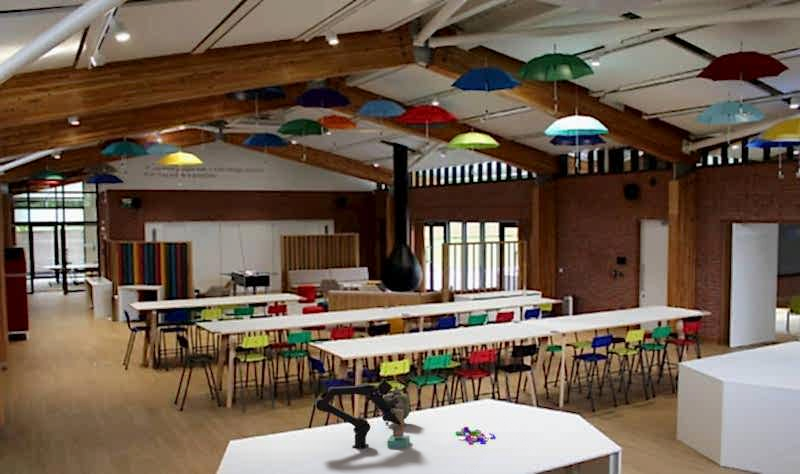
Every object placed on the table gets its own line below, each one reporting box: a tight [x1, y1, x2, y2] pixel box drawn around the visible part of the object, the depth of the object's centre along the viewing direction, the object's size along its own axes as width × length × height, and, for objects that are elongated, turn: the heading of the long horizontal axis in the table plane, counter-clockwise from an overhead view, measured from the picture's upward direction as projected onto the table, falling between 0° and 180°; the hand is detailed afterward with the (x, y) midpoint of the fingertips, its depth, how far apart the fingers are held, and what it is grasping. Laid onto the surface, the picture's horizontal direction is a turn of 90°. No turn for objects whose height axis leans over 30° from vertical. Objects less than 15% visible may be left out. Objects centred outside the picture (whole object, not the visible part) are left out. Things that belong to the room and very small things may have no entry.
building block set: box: [454, 426, 496, 445], centre depth 369 cm, size 25×20×4 cm
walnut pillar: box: [392, 410, 404, 437], centre depth 357 cm, size 5×5×13 cm
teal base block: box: [386, 434, 411, 449], centre depth 357 cm, size 10×10×4 cm
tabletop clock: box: [383, 381, 411, 427], centre depth 396 cm, size 14×9×25 cm, turn 73°
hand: (400, 422), depth 357 cm, fingers closed on walnut pillar, 5 cm apart
